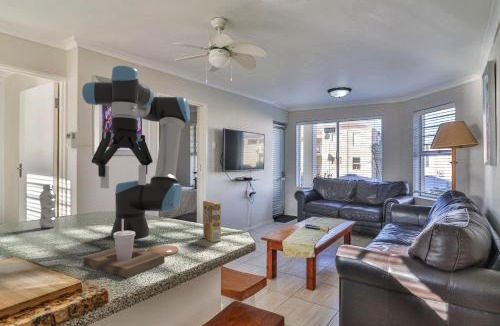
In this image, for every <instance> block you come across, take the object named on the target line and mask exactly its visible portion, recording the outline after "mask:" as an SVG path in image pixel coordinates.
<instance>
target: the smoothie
mask: <svg viewBox="0 0 500 326" xmlns="http://www.w3.org/2000/svg"><path fill="white" fill-rule="evenodd" d="M134 236H135V232H134V231H124V219H122V231H119V232H116V233H114V234H113V238H115V239H114V244H115V246H114V247H116V254H117V261H120V262H123V261H126V260H129V259H131V257H132V250H133V248H134V242H135V241H134V240H135V239H134ZM113 238H112V239H113Z"/></svg>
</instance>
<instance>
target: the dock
mask: <svg viewBox="0 0 500 326" xmlns="http://www.w3.org/2000/svg"><path fill="white" fill-rule="evenodd" d="M82 259H83V260H82V261H83V263H82V264H84V265H83V266H86V265H87V267H89V266H90V267H89V268H92V267H93V269H96V270H99V271H101V272H106V273H109V274H111V275H112V274H113V275H115V276H119V277H123V278H126V279H128V278H131V277H133V276H135V275H137V274H140V273H143V272H145V271H148V270H151V269H153V268H155V267H158V266H160V265H163V264H165V256H164V255H162V254H158V253H153V252H149V251H146V250H144V249H139V248H136V247H133V250H132V257H131V259H129V260H126V261H123V262H120V261H117V254H116V246H114V247H112V248H108V249H105V250H102V251H99V252H95V253H94V252H93V253H92V254H88V255H84V256H83V258H82Z"/></svg>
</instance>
